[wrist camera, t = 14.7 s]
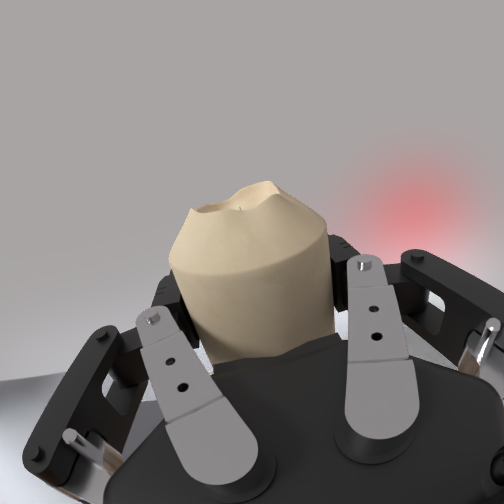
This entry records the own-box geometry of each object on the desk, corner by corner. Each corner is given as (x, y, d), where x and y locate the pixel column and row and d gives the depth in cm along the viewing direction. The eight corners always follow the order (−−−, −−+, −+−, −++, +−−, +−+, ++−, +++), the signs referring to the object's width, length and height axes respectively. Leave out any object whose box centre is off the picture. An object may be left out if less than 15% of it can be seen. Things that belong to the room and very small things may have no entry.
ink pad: (69, 489, 10) (64, 486, 10) (88, 407, 18) (84, 403, 17) (178, 505, 10) (174, 503, 10) (180, 402, 18) (176, 398, 18)
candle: (278, 338, 16) (241, 175, 12) (355, 372, 12) (350, 172, 8) (210, 394, 13) (132, 218, 9) (287, 452, 9) (221, 235, 5)
